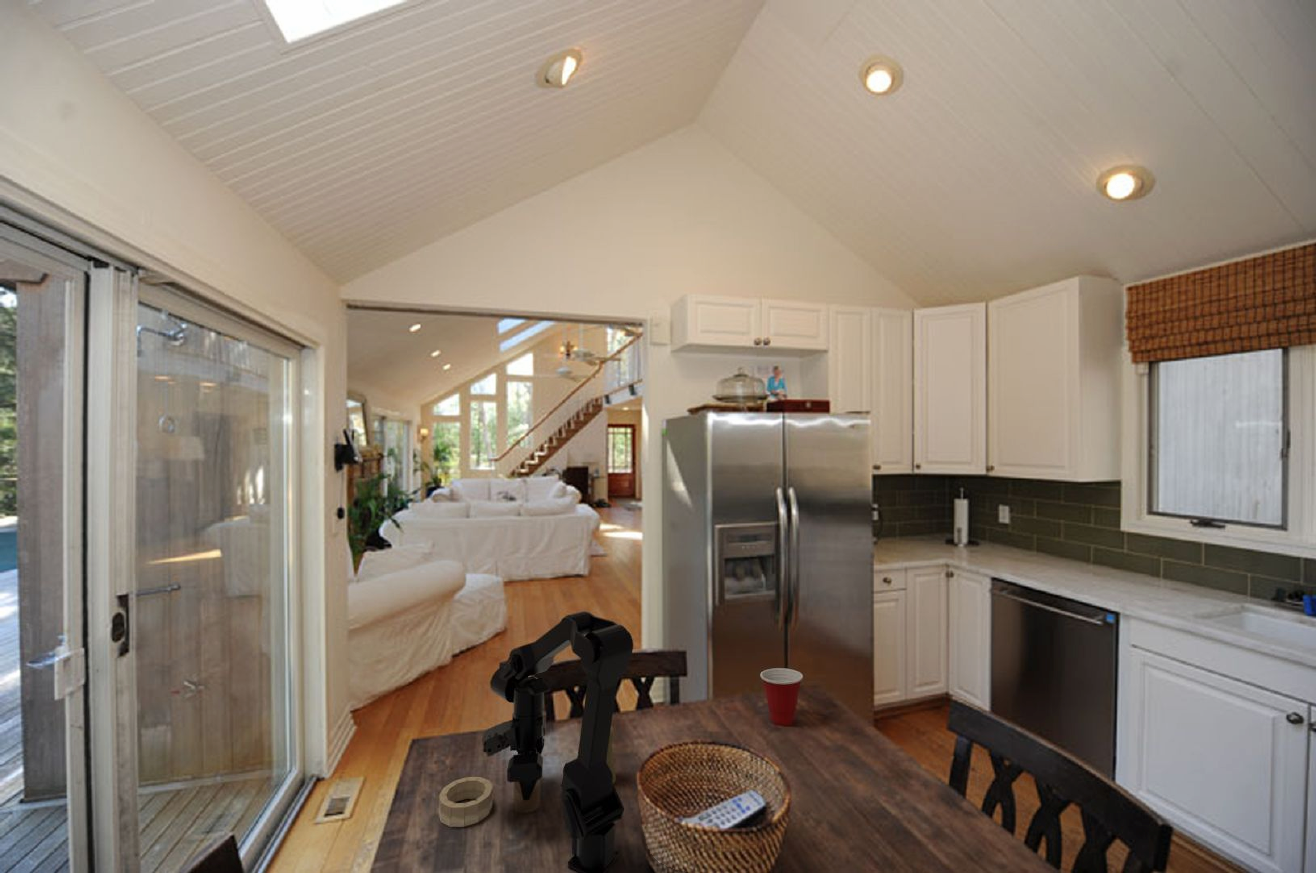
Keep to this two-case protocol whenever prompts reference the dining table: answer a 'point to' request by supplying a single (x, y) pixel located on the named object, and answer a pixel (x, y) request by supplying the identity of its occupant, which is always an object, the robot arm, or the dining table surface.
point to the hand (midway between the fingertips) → (527, 791)
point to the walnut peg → (527, 804)
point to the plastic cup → (781, 694)
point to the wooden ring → (469, 811)
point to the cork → (611, 754)
